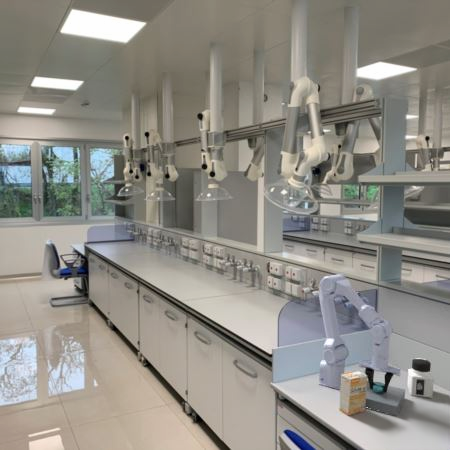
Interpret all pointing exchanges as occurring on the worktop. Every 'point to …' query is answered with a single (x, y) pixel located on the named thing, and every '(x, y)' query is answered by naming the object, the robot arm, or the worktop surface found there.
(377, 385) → the plunger
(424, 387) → the container
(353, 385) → the supplement box
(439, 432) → the worktop surface
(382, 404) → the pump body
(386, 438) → the worktop surface
